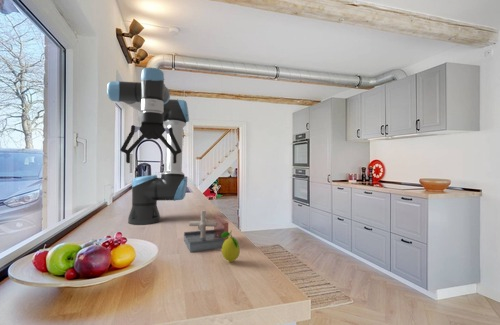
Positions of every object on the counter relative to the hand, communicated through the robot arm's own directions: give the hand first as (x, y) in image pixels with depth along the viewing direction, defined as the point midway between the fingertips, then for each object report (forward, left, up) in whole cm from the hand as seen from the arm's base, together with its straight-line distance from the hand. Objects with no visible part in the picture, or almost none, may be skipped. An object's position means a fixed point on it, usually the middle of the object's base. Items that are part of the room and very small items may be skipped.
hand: (151, 172), depth 93 cm
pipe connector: (+3, +18, -24) cm, 30 cm away
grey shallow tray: (+3, +18, -27) cm, 32 cm away
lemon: (+23, +22, -27) cm, 42 cm away
